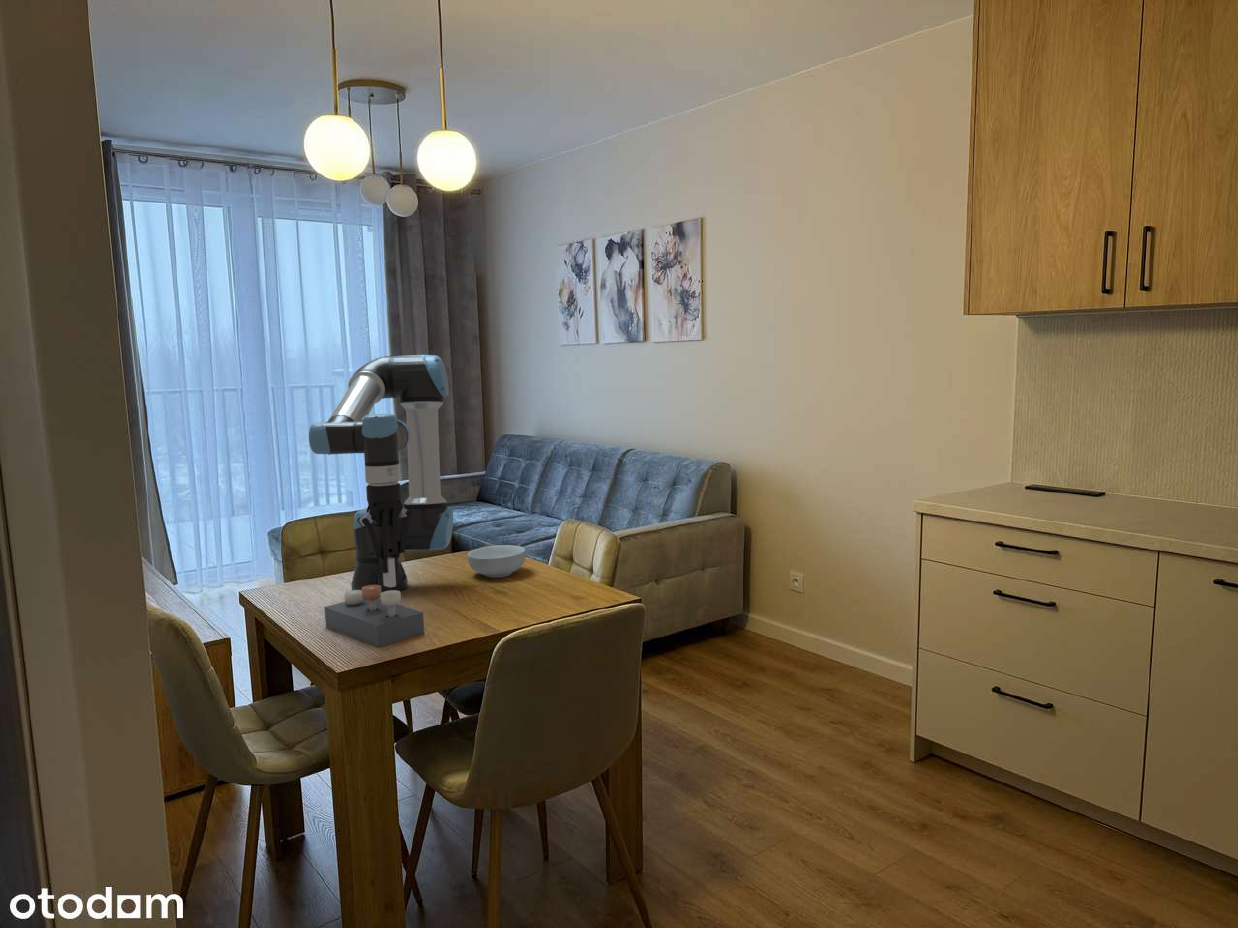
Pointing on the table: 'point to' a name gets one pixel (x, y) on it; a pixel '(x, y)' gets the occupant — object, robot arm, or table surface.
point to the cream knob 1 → (353, 597)
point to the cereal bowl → (497, 560)
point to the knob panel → (374, 622)
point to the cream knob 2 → (391, 601)
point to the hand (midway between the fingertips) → (389, 585)
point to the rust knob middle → (371, 595)
